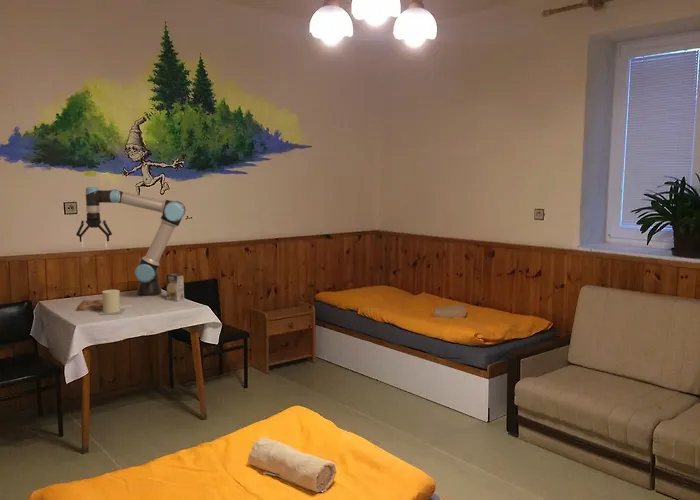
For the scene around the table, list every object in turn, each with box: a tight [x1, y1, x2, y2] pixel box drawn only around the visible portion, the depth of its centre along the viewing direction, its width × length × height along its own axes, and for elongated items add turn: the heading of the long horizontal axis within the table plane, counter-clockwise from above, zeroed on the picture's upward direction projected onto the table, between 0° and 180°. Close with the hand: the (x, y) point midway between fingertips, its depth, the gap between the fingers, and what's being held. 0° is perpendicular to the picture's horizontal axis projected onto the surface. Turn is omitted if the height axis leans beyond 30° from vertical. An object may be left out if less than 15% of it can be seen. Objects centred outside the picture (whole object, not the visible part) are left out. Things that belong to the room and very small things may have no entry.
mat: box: [98, 307, 126, 316], centre depth 348 cm, size 12×12×1 cm
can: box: [101, 289, 121, 313], centre depth 347 cm, size 9×9×12 cm
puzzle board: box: [77, 299, 103, 312], centre depth 361 cm, size 17×17×2 cm
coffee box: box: [165, 272, 185, 302], centre depth 382 cm, size 9×6×16 cm
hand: (94, 247), depth 378 cm, fingers open, 13 cm apart
